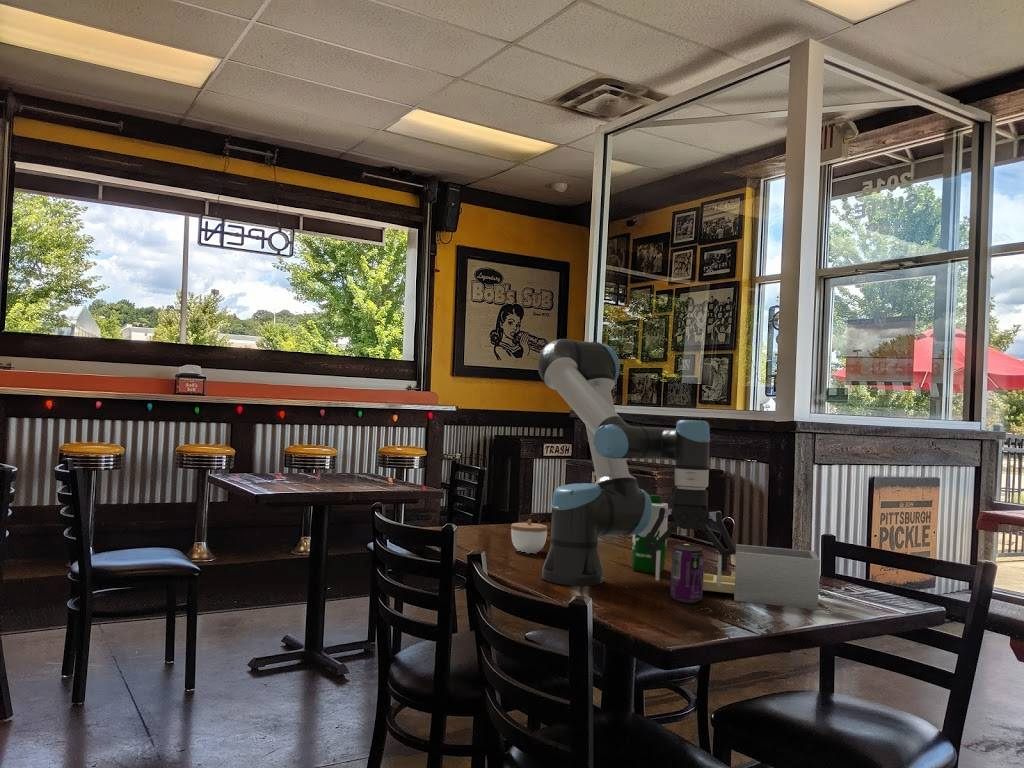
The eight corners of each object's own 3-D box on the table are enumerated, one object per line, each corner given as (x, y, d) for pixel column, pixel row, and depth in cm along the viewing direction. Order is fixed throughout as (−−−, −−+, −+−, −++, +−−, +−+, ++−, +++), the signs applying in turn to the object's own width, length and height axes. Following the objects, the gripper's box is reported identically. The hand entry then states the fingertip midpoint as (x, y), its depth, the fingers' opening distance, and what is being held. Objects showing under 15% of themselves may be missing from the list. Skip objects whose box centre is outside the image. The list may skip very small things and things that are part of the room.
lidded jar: (507, 548, 242) (509, 516, 243) (543, 549, 243) (545, 518, 244) (511, 554, 232) (513, 521, 232) (548, 555, 233) (550, 522, 233)
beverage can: (702, 605, 179) (705, 550, 179) (669, 602, 180) (672, 548, 181) (701, 598, 186) (703, 546, 186) (670, 595, 187) (672, 543, 188)
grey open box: (734, 600, 185) (736, 552, 186) (734, 589, 198) (736, 544, 199) (817, 609, 180) (819, 560, 181) (812, 597, 194) (814, 551, 194)
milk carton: (667, 569, 221) (671, 495, 221) (660, 574, 212) (664, 498, 213) (635, 565, 224) (639, 493, 225) (628, 570, 216) (631, 495, 216)
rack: (678, 593, 189) (680, 551, 189) (682, 582, 202) (684, 543, 202) (759, 602, 184) (761, 559, 184) (757, 590, 197) (759, 550, 197)
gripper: (634, 485, 184) (630, 579, 183) (748, 492, 177) (745, 590, 176) (637, 483, 191) (634, 574, 190) (748, 490, 184) (745, 584, 183)
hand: (688, 582), depth 183 cm, fingers open, 13 cm apart
